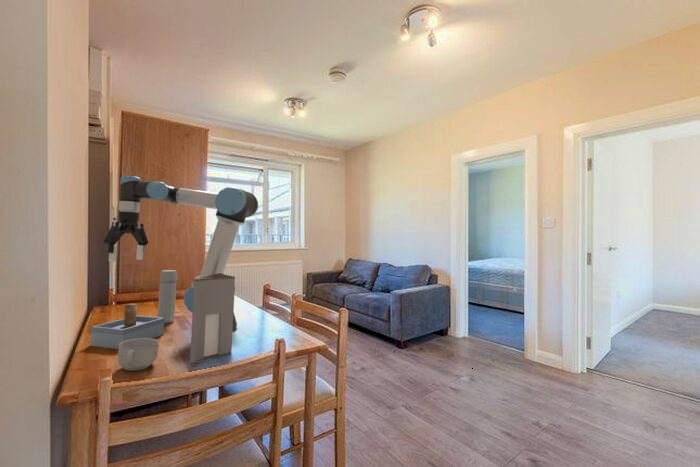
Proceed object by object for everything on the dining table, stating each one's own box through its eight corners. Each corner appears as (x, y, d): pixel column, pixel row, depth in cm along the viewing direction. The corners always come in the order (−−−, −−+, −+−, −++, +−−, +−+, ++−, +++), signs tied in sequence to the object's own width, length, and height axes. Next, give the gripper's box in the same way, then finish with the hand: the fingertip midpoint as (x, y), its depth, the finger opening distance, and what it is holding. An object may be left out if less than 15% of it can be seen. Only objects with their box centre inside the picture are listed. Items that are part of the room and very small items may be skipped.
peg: (137, 338, 130) (139, 303, 131) (129, 341, 126) (131, 305, 127) (129, 337, 131) (131, 303, 131) (120, 340, 127) (122, 305, 127)
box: (163, 334, 137) (164, 317, 137) (122, 349, 117) (123, 330, 118) (135, 331, 140) (136, 315, 140) (90, 345, 120) (91, 326, 120)
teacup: (130, 360, 107) (131, 336, 107) (164, 361, 108) (165, 337, 108) (101, 378, 93) (103, 350, 93) (140, 378, 94) (142, 351, 94)
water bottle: (169, 324, 153) (172, 271, 154) (153, 323, 153) (156, 271, 154) (180, 319, 162) (182, 270, 163) (164, 319, 162) (167, 269, 163)
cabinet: (215, 344, 127) (219, 273, 127) (240, 345, 127) (243, 274, 127) (189, 364, 106) (194, 279, 106) (219, 365, 106) (223, 280, 107)
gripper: (144, 214, 154) (142, 258, 153) (94, 208, 129) (91, 261, 128) (158, 214, 152) (156, 259, 152) (110, 208, 128) (107, 262, 127)
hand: (126, 260), depth 140 cm, fingers open, 13 cm apart
